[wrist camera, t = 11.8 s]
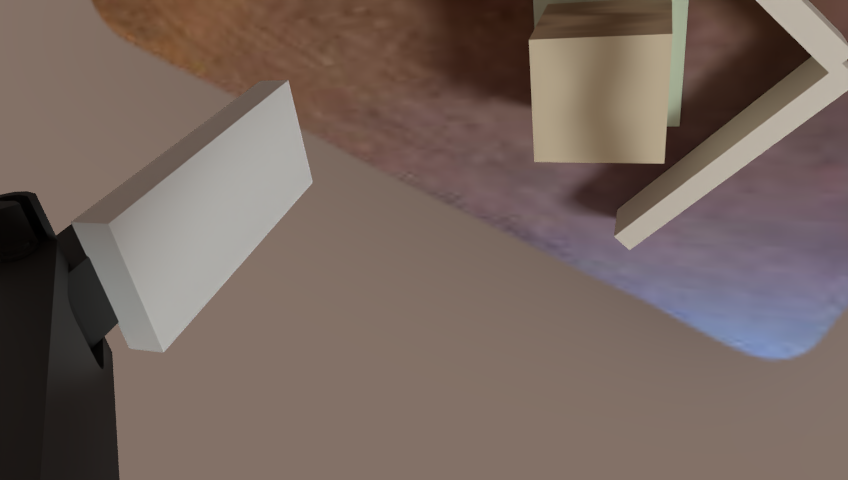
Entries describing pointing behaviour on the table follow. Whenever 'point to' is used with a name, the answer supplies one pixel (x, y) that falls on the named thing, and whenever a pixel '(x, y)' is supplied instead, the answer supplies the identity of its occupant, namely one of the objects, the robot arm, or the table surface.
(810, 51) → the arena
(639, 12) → the birch cube
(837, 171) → the table surface
